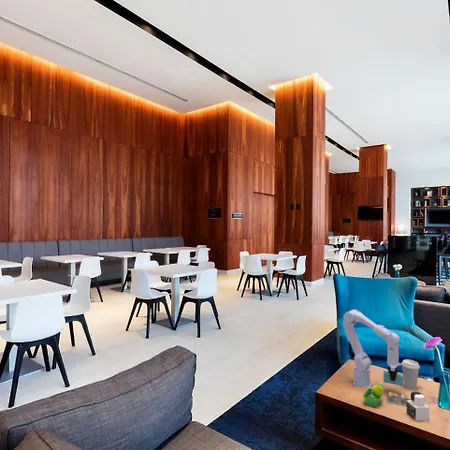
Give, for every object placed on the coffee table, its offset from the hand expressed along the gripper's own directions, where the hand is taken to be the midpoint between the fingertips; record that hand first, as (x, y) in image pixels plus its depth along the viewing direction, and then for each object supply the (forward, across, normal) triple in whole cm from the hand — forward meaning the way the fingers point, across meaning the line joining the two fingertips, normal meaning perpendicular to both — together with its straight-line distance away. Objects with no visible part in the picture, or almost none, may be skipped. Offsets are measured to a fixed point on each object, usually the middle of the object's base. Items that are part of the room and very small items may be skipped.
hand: (392, 378), depth 190 cm
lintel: (+2, 0, 0) cm, 2 cm away
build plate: (+8, -8, -3) cm, 12 cm away
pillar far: (+8, -8, -6) cm, 13 cm away
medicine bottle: (+9, -21, -11) cm, 25 cm away
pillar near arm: (+8, -8, 0) cm, 11 cm away
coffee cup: (+9, +13, -9) cm, 18 cm away
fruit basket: (+9, -16, +9) cm, 20 cm away
